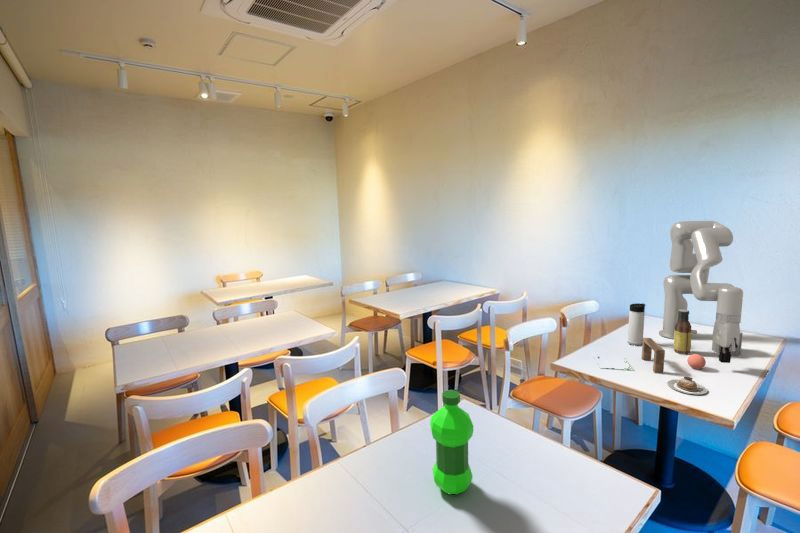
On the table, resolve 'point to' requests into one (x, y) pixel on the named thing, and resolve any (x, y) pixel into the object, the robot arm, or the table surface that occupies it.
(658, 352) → the bridge
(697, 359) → the ball
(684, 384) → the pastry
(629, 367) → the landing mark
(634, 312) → the travel mug
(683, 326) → the sauce bottle
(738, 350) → the coffee mug
